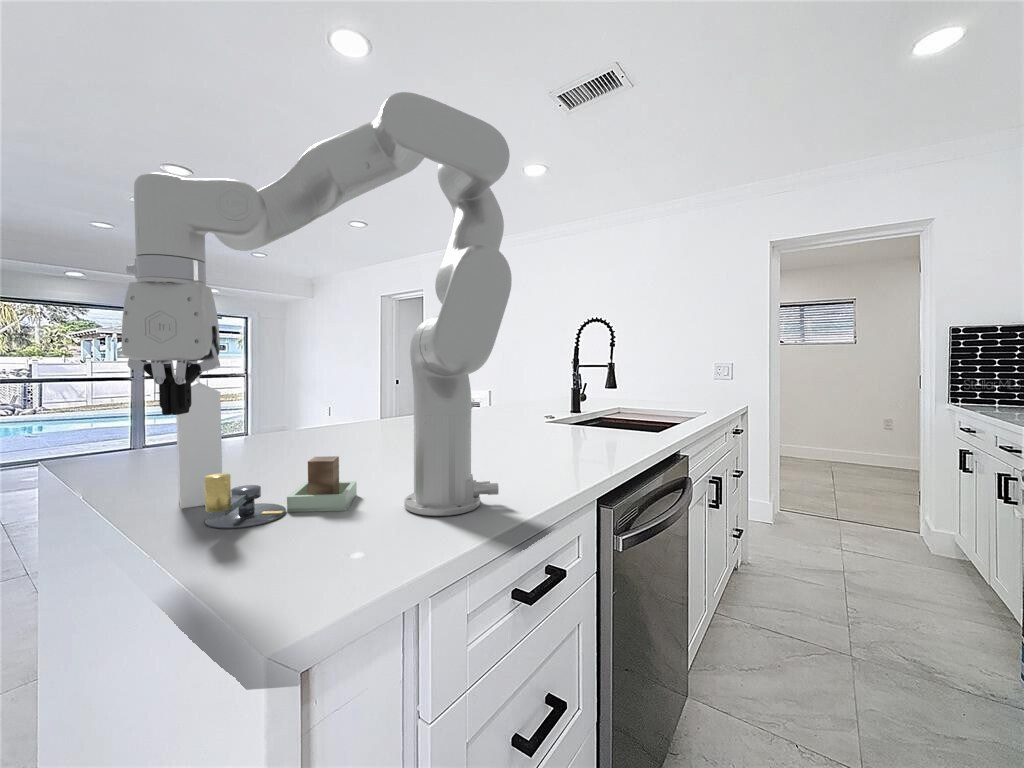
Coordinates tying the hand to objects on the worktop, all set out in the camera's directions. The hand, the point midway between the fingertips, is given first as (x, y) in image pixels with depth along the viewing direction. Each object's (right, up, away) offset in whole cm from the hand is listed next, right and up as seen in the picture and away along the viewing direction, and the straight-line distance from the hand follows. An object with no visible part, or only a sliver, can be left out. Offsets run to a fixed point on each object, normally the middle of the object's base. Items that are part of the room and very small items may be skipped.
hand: (176, 413), depth 65 cm
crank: (+4, -14, +6) cm, 16 cm away
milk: (-8, -16, +18) cm, 26 cm away
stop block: (+13, -16, +18) cm, 27 cm away
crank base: (+4, -17, +10) cm, 20 cm away
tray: (+13, -16, +18) cm, 27 cm away
